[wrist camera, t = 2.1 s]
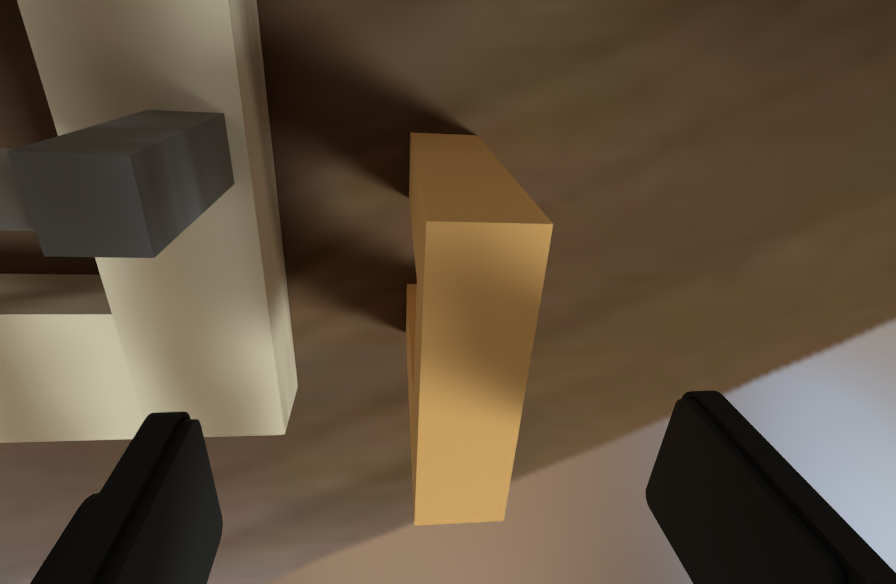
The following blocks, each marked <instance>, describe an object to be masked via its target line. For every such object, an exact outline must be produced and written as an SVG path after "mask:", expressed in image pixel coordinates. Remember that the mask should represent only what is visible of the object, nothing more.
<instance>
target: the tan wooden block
mask: <svg viewBox="0 0 896 584" xmlns="http://www.w3.org/2000/svg"><path fill="white" fill-rule="evenodd" d="M409 204H410V215H411V225H412V235H413V245H414V256H415V266H416V276H417V284H407V311H406V344H407V367H408V390H409V413H410V436H411V460H412V483H413V506H414V525H434V524H455V523H474V522H494V521H504V516H505V510H506V504H507V498H508V492H509V486H510V480H511V474H512V468H513V462H514V456H515V450H516V444H517V438H518V432H519V426H520V420H521V414H522V408H523V402H524V396H525V390H526V384H527V378H528V372H529V366H530V360H531V354H532V348H533V342H534V336H535V330H536V324H537V318H538V312H539V306H540V300H541V294H542V288H543V282H544V276H545V270H546V264H547V258H548V252H549V246H550V240H551V234H552V228H553V223H552V222H551V221H550V220H549V219H548V217H547V216H546V215H545V214H544V213H543V212H542V210H541V209H540V208H539V207H538V206H537V205H536V203H535V202H534V201H533V200H532V199H531V198H530V196H529V195H528V194H527V193H526V192H525V191H524V189H523V188H522V187H521V186H520V185H519V184H518V182H517V181H516V180H515V179H514V178H513V177H512V175H511V174H510V173H509V172H508V171H507V170H506V168H505V167H504V166H503V165H502V164H501V163H500V161H499V160H498V159H497V158H496V157H495V156H494V154H493V153H492V152H491V151H490V150H489V149H488V147H487V146H486V145H485V144H484V143H483V142H482V140H481V139H480V138H479V137H478V136H477V135H458V134H434V133H411V132H410V171H409Z"/></svg>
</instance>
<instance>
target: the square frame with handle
mask: <svg viewBox="0 0 896 584" xmlns="http://www.w3.org/2000/svg"><path fill="white" fill-rule="evenodd" d="M17 2H18V5H19V9H20V12H21V15H22V19H23V22H24V25H25V28H26V32H27V35H28V38H29V42H30V45H31V48H32V52H33V55H34V58H35V61H36V65H37V68H38V71H39V75H40V78H41V81H42V85H43V88H44V91H45V94H46V98H47V101H48V104H49V108H50V111H51V114H52V118H53V121H54V124H55V127H56V131H57V134H58V136H57V137H53V138H50V139H46V140H43V141H40V142H36V143H33V144H29V145H26V146H23V147H19V148H16V149H5V148H0V230H19V231H35V232H36V235H37V238H38V240H39V243H40V246H41V249H42V252H43V255H44V257H95V260H96V263H97V266H98V269H99V273H100V275H87V274H0V443H9V442H45V441H81V440H116V439H133V438H134V436H135V435H136V433H137V431H138V430H139V428H140V426H141V425H142V423H143V422H144V420H145V418H146V417H147V416H148V415H149V414H151V413H158V412H187V413H188V414H189V416H190V418H191V419H198V420H199V421H200V424H201V427H202V432H203V436H204V437H223V436H259V435H285V431H286V428H287V424H288V420H289V417H290V413H291V409H292V406H293V402H294V398H295V395H296V391H297V387H298V384H297V375H296V365H295V356H294V347H293V337H292V328H291V318H290V309H289V300H288V290H287V281H286V272H285V262H284V253H283V244H282V234H281V225H280V215H279V206H278V197H277V187H276V178H275V169H274V159H273V150H272V140H271V131H270V122H269V112H268V103H267V94H266V84H265V75H264V66H263V56H262V47H261V37H260V28H259V19H258V9H257V0H17Z"/></svg>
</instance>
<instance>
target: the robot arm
mask: <svg viewBox="0 0 896 584" xmlns="http://www.w3.org/2000/svg"><path fill="white" fill-rule="evenodd" d="M646 500H647V503H648V506H649V508H650V510H651V511H652V513H653V515H654V517H655V518H656V520H657V522H658V523H659V525H660V527H661V529H662V530H663V532H664V534H665V536H666V537H667V539H668V541H669V542H670V544H671V546H672V547H673V549H674V551H675V553H676V555H677V556H678V558H679V560H680V561H681V563H682V565H683V567H684V568H685V570H686V572H687V573H688V575H689V577H690V578H691V580H692V582H693V584H896V573H895V572H894V571H893V570H892V569H891V568H890V567H889V566H888V565H887V564H886V563H885V562H884V560H882V558H880V556H879V555H878V554H877V553H876V552H875V551H874V550H873V549H872V548H871V547H870V546H869V545H868V544H867V543H866V542H865V541H864V540H863V539H862V538H861V537H860V536H859V535H858V534H857V533H856V532H855V531H854V530H853V529H852V528H851V527H850V526H849V525H848V524H847V522H846V521H845V520H844V519H843V518H842V517H841V516H840V515H839V514H838V513H837V512H836V511H835V510H834V509H833V508H832V507H831V506H830V505H829V504H828V503H827V502H826V501H825V500H824V499H823V498H822V497H821V496H820V495H819V494H818V493H817V492H816V491H815V490H814V489H813V488H812V486H811V485H810V484H809V483H808V482H807V481H806V480H805V479H804V478H803V477H802V476H801V475H800V474H799V473H798V472H797V471H796V470H795V469H794V468H793V467H792V466H791V465H790V464H789V463H788V462H787V461H786V460H785V459H784V458H783V457H782V456H781V455H780V454H779V453H778V452H777V451H776V450H775V449H774V447H773V446H772V445H770V443H769V442H768V441H766V439H765V438H764V437H763V436H762V435H761V434H760V433H759V432H758V431H757V430H756V429H755V428H754V427H753V426H752V425H751V424H750V423H749V422H748V421H747V420H746V419H745V418H744V417H743V416H742V415H741V414H740V413H739V412H738V411H737V409H735V407H733V405H732V404H731V403H730V402H729V401H728V400H727V399H726V398H725V397H724V396H723V395H722V394H720V393H719V392H717V391H691V392H686V393H685V394H684V395H683V397H682V399H679V400H678V401H677V402H676V404H675V407H674V409H673V412H672V415H671V418H670V421H669V424H668V427H667V430H666V433H665V436H664V439H663V441H662V445H661V447H660V450H659V453H658V456H657V459H656V462H655V464H654V467H653V470H652V473H651V476H650V480H649V482H648V485H647V488H646ZM222 526H223V521H222V515H221V510H220V506H219V502H218V497H217V493H216V489H215V484H214V480H213V475H212V471H211V467H210V462H209V458H208V454H207V449H206V445H205V440H204V436H203V432H202V427H201V424H200V421H199V420H198V419H191V418H190V416H189V414H188V413H187V412H158V413H151V414H149V415H148V416H147V417H146V418H145V420H144V422H143V423H142V425H141V426H140V428H139V430H138V431H137V433H136V435H135V436H134V438H133V439H132V441H131V443H130V444H129V446H128V448H127V449H126V451H125V452H124V454H123V456H122V457H121V459H120V461H119V462H118V464H117V465H116V467H115V469H114V470H113V472H112V474H111V475H110V477H109V478H108V480H107V482H106V483H105V485H104V487H103V488H102V490H101V491H100V493H97V494H92V495H91V496H89V497H88V498H87V499H85V501H84V502H83V503H82V504H81V506H80V507H79V508H78V510H77V511H76V513H75V514H74V516H73V518H72V519H71V521H70V522H69V524H68V525H67V527H66V528H65V530H64V532H63V533H62V535H61V536H60V538H59V539H58V541H57V543H56V544H55V546H54V547H53V549H52V550H51V552H50V553H49V555H48V557H47V558H46V560H45V561H44V563H43V564H42V566H41V567H40V569H39V571H38V572H37V574H36V575H35V577H34V578H33V580H32V582H31V583H30V584H207V581H208V577H209V574H210V571H211V568H212V565H213V562H214V558H215V555H216V552H217V549H218V546H219V543H220V539H221V535H222Z"/></svg>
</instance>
